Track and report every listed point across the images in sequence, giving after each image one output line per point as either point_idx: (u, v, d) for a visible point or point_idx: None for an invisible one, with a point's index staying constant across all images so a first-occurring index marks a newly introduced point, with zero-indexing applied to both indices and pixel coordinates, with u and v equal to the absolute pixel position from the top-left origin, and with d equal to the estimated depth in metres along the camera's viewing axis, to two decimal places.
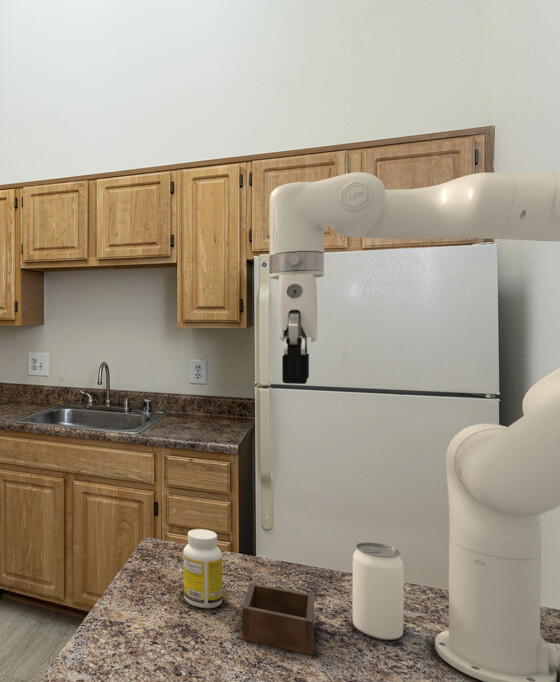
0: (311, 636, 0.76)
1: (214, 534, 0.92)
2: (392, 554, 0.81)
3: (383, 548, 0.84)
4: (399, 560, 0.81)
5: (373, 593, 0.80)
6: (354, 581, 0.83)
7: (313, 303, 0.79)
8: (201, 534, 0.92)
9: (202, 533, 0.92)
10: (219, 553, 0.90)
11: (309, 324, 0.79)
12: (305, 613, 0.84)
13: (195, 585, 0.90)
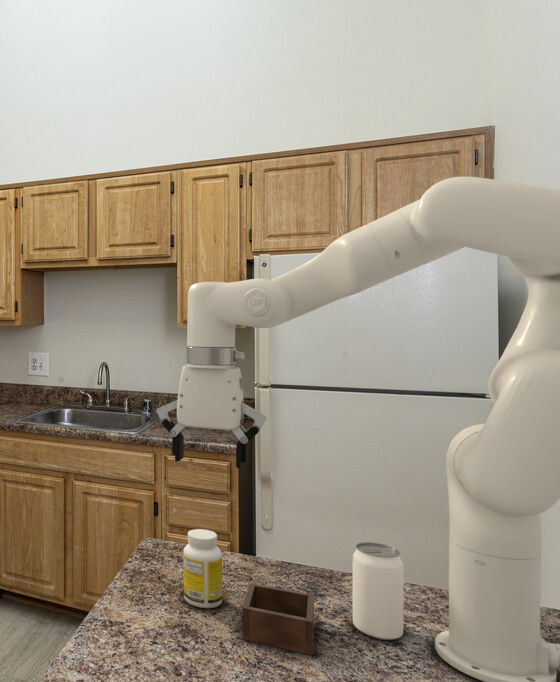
0: (311, 636, 0.76)
1: (214, 534, 0.92)
2: (392, 554, 0.81)
3: (383, 548, 0.84)
4: (399, 560, 0.81)
5: (373, 593, 0.80)
6: (354, 581, 0.83)
7: None
8: (201, 534, 0.92)
9: (202, 533, 0.92)
10: (219, 553, 0.90)
11: (243, 412, 0.91)
12: (305, 613, 0.84)
13: (195, 585, 0.90)
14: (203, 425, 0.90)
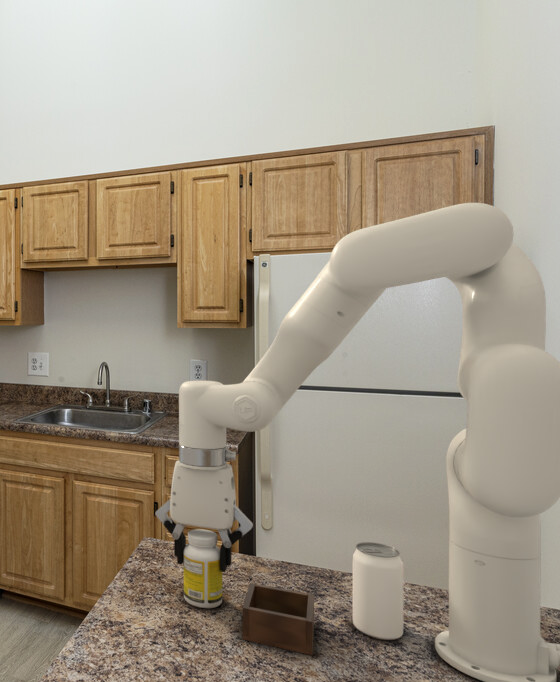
0: (311, 636, 0.76)
1: (214, 534, 0.92)
2: (392, 554, 0.81)
3: (383, 548, 0.84)
4: (399, 560, 0.81)
5: (373, 593, 0.80)
6: (354, 581, 0.83)
7: None
8: (201, 534, 0.92)
9: (202, 533, 0.92)
10: (219, 553, 0.90)
11: None
12: (305, 613, 0.84)
13: (195, 585, 0.90)
14: (196, 524, 0.90)
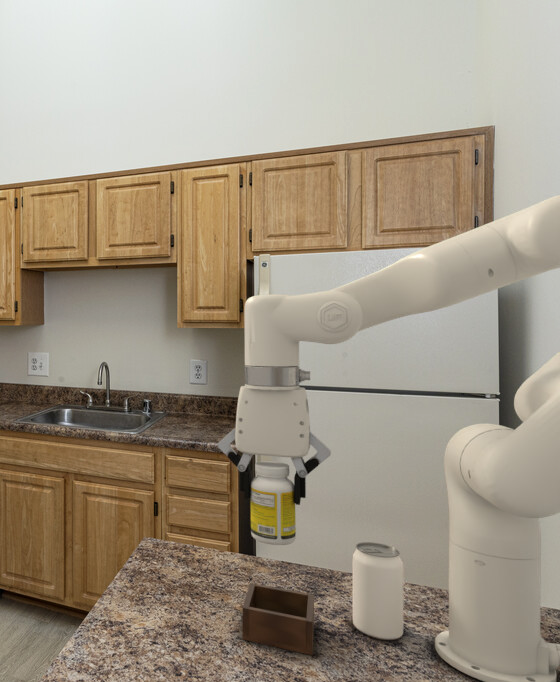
0: (311, 636, 0.76)
1: (285, 464, 0.83)
2: (391, 554, 0.81)
3: (383, 548, 0.84)
4: (399, 560, 0.81)
5: (373, 593, 0.80)
6: (354, 581, 0.83)
7: None
8: (271, 465, 0.83)
9: (271, 464, 0.83)
10: (293, 485, 0.81)
11: None
12: (305, 613, 0.84)
13: (266, 520, 0.81)
14: (266, 452, 0.81)
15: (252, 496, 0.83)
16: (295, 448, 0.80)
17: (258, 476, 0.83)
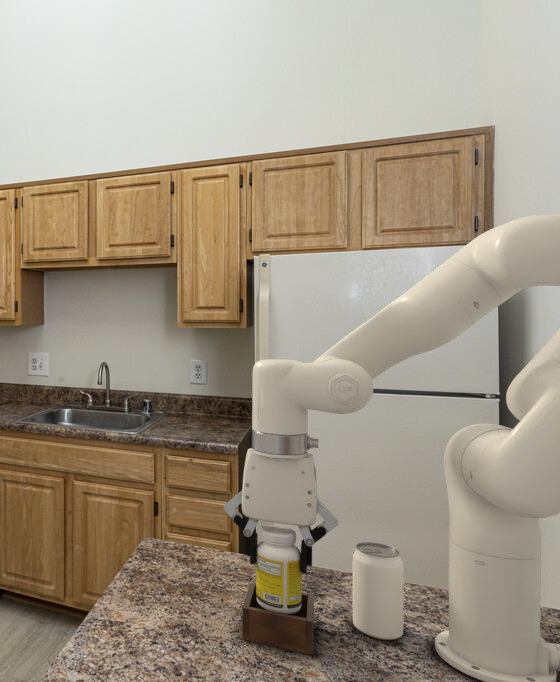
0: (311, 636, 0.76)
1: (292, 531, 0.82)
2: (392, 554, 0.81)
3: (383, 548, 0.84)
4: (399, 560, 0.81)
5: (373, 593, 0.80)
6: (354, 581, 0.83)
7: None
8: (277, 531, 0.82)
9: (278, 530, 0.82)
10: (299, 552, 0.81)
11: None
12: (305, 613, 0.84)
13: (272, 588, 0.80)
14: (273, 519, 0.81)
15: (258, 562, 0.82)
16: (302, 517, 0.79)
17: (264, 542, 0.82)
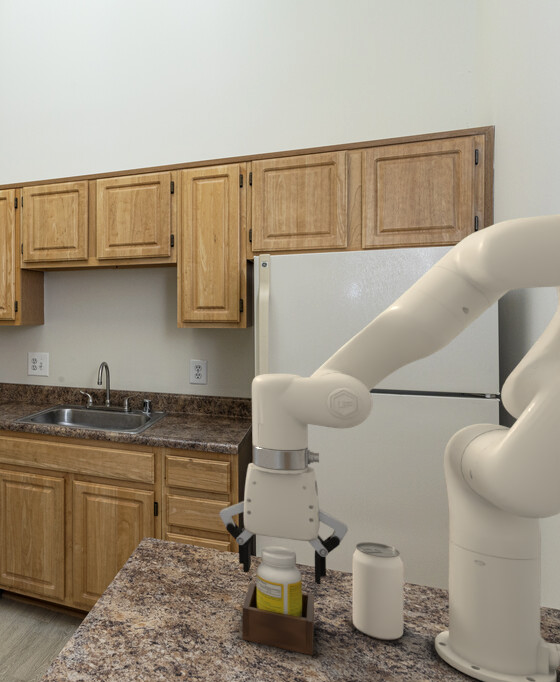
0: (311, 636, 0.76)
1: (292, 552, 0.82)
2: (392, 554, 0.81)
3: (383, 548, 0.84)
4: (399, 560, 0.81)
5: (373, 593, 0.80)
6: (354, 581, 0.83)
7: None
8: (278, 552, 0.82)
9: (278, 551, 0.82)
10: (299, 574, 0.81)
11: None
12: (305, 613, 0.84)
13: (273, 610, 0.80)
14: (275, 534, 0.81)
15: (258, 584, 0.82)
16: (305, 532, 0.79)
17: (264, 563, 0.82)
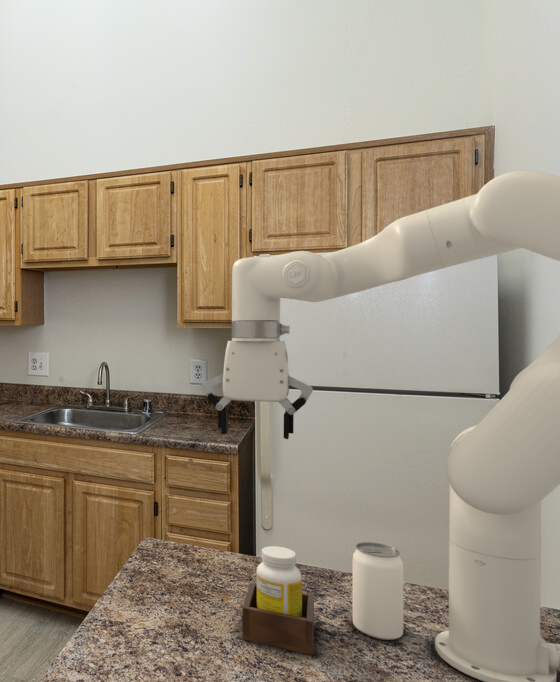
0: (311, 636, 0.76)
1: (292, 552, 0.82)
2: (391, 554, 0.81)
3: (383, 548, 0.84)
4: (399, 560, 0.81)
5: (373, 593, 0.80)
6: (354, 581, 0.83)
7: None
8: (278, 553, 0.82)
9: (278, 551, 0.82)
10: (299, 574, 0.81)
11: None
12: (305, 613, 0.84)
13: (273, 610, 0.80)
14: (250, 398, 0.91)
15: (258, 584, 0.82)
16: (275, 393, 0.90)
17: (264, 563, 0.82)
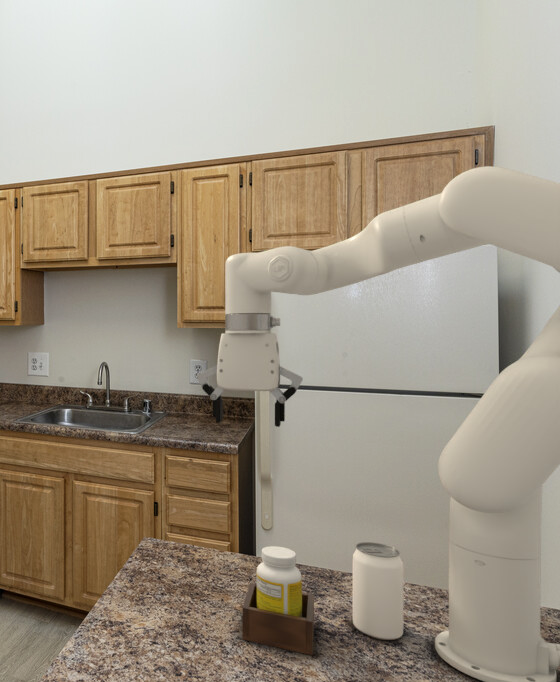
0: (311, 636, 0.76)
1: (292, 552, 0.82)
2: (392, 554, 0.81)
3: (383, 548, 0.84)
4: (399, 560, 0.81)
5: (373, 593, 0.80)
6: (354, 581, 0.83)
7: None
8: (278, 553, 0.82)
9: (278, 551, 0.82)
10: (299, 574, 0.81)
11: None
12: (305, 613, 0.84)
13: (273, 610, 0.80)
14: (243, 387, 0.96)
15: (258, 584, 0.82)
16: (266, 383, 0.94)
17: (264, 563, 0.82)
